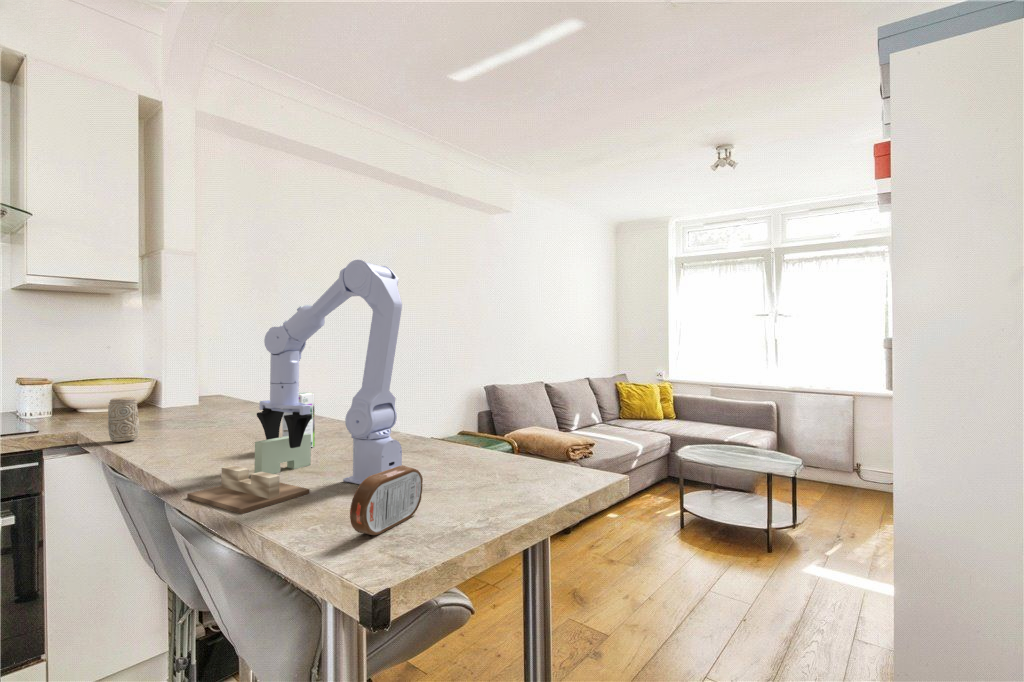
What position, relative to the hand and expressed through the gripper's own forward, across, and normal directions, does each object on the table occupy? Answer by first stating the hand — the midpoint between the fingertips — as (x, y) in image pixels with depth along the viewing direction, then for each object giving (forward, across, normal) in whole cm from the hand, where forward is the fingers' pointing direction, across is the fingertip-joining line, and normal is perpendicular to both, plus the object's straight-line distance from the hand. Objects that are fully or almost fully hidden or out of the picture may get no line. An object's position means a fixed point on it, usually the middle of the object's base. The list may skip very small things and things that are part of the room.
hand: (283, 445), depth 110 cm
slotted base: (+5, +11, -15) cm, 19 cm away
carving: (+6, -64, -3) cm, 64 cm away
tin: (+6, +43, -13) cm, 45 cm away
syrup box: (+6, -16, +16) cm, 23 cm away
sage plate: (+5, 0, 0) cm, 5 cm away
